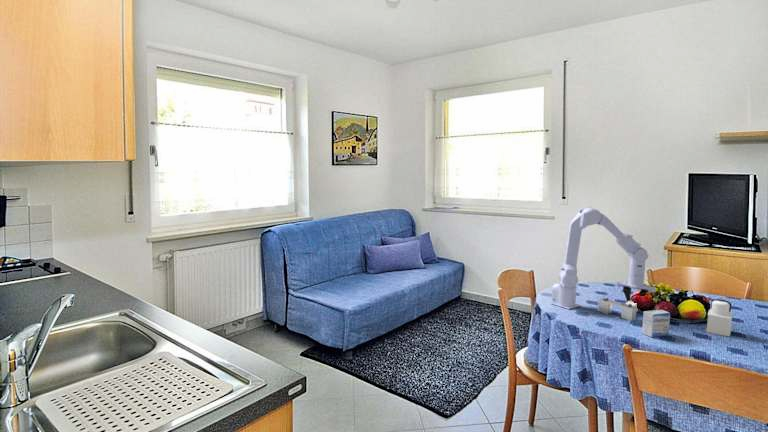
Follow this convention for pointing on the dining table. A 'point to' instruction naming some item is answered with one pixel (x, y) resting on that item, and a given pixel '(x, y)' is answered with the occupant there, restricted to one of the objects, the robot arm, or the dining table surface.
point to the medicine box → (656, 323)
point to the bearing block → (627, 310)
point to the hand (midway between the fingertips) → (634, 305)
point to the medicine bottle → (719, 318)
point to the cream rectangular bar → (632, 304)
